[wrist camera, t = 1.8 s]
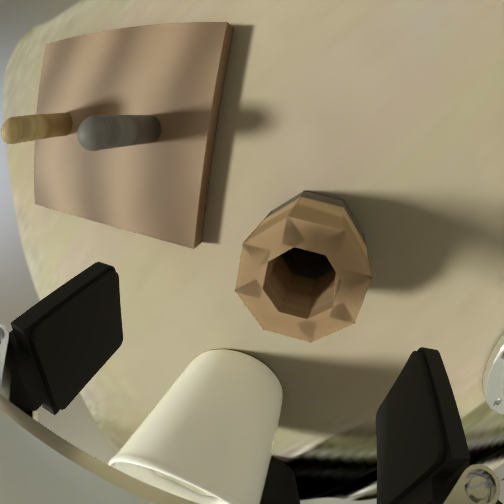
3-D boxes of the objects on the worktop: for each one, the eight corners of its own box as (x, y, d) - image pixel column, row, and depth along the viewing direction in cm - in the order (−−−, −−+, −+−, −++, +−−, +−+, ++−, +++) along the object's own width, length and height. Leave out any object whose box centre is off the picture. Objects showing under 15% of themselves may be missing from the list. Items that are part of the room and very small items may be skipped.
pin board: (233, 28, 15) (179, -16, 9) (201, 242, 21) (143, 291, 15) (56, 45, 18) (-10, 39, 12) (44, 200, 24) (-17, 224, 18)
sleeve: (371, 207, 17) (384, 240, 12) (345, 292, 20) (343, 351, 14) (276, 183, 18) (248, 206, 13) (259, 270, 21) (229, 319, 15)
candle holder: (262, 327, 22) (196, 469, 11) (309, 415, 24) (280, 540, 14) (161, 351, 26) (80, 450, 15) (215, 425, 28) (166, 523, 17)
